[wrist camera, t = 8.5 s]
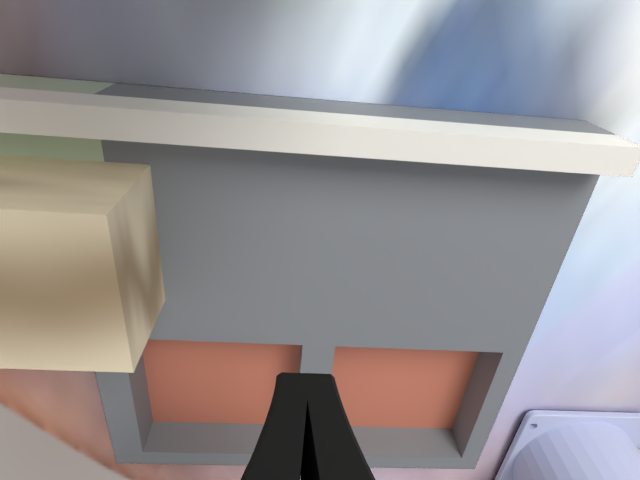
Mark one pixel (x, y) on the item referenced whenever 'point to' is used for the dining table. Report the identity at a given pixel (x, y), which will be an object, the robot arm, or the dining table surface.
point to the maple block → (77, 264)
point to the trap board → (326, 257)
